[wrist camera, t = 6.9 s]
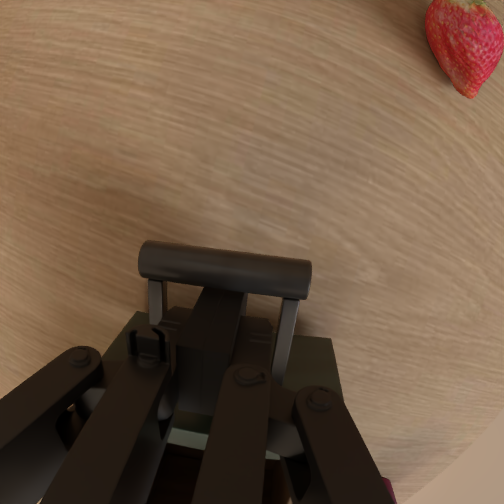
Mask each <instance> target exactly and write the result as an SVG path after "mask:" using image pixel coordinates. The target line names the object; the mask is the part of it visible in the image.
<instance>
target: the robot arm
mask: <svg viewBox="0 0 504 504" xmlns="http://www.w3.org/2000/svg"><path fill="white" fill-rule="evenodd" d="M247 297H248V293H244V292H237V291H230V290H222V289H215V288H208V287H204V288H203V290H202V292H201V294H200V296H199V298H198V300H197V302H196V304H195V306H194V308H193V309H189V308H182V307H176V306H174V307H173V308H171V309H170V310H168V311H166V312H165V314H164V315H163V317H162V318H161V321H160V322H159V323H158V325H152V324H142V325H137V326H134V327H132V328H130V329H129V330H127V331H126V332H125V335H126V343H127V351H128V356H127V358H126V359H125V360H102V359H101V356H100V353H99V352H98V351H97V350H96V349H94V348H91V347H88V346H77V347H72V348H70V349H68V350H66V351H65V352H63V353H62V354H61V355H59V356H58V357H57V358H55V359H54V360H52V361H51V362H50V363H48V364H47V365H46V366H44V367H43V368H42V369H40V370H39V371H38V372H36V373H35V374H33V375H32V376H31V377H29V378H28V379H27V380H25V381H24V382H23V383H21V384H20V385H19V386H17V387H16V388H15V389H13V390H12V391H11V392H9V393H8V394H7V395H5V396H4V397H3V398H1V399H0V504H36V503H37V502H38V501H39V500H40V499H41V498H42V497H43V496H44V497H43V498H42V500H41V502H40V504H146V501H147V499H148V496H149V493H150V490H151V487H152V484H153V481H154V478H155V475H156V472H157V470H158V467H159V464H160V461H161V458H162V455H163V452H164V450H165V447H166V444H167V441H168V438H169V435H170V433H171V430H172V427H173V424H174V419H175V413H174V409H175V406H176V404H177V401H178V409H179V410H183V411H188V412H193V413H199V414H204V415H210V416H213V419H212V423H211V427H210V431H209V435H208V439H207V443H206V447H205V451H204V455H203V459H202V463H201V467H200V471H199V475H198V479H197V483H196V487H195V491H194V495H193V499H192V502H191V504H262V493H263V482H264V470H265V458H266V450H267V451H270V452H272V453H275V454H278V455H280V461H281V465H282V468H283V472H284V476H285V479H286V483H287V486H288V490H289V494H290V497H291V501H292V504H395V503H394V501H393V499H392V497H391V495H390V493H389V491H388V489H387V487H386V485H385V483H384V481H383V479H382V477H381V475H380V473H379V471H378V469H377V467H376V465H375V463H374V461H373V459H372V457H371V455H370V453H369V451H368V449H367V447H366V445H365V443H364V441H363V439H362V437H361V435H360V433H359V431H358V429H357V427H356V425H355V423H354V421H353V419H352V417H351V415H350V413H349V411H348V409H347V408H346V406H345V404H344V402H343V400H342V398H341V397H340V396H339V394H338V393H337V392H335V391H334V390H332V389H331V388H328V387H325V386H321V385H311V386H306V387H304V388H302V389H301V390H299V391H298V392H295V391H292V390H289V389H287V388H285V387H282V386H281V385H279V384H278V383H277V382H276V381H275V380H274V379H273V378H272V376H271V372H270V366H271V349H272V332H273V326H272V325H271V323H270V322H269V320H268V319H266V318H258V317H250V316H245V315H246V306H247ZM72 404H73V406H72V407H70V406H71V405H72ZM68 407H70V408H68ZM67 408H68V409H67Z"/></svg>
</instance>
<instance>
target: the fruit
mask: <svg viewBox="0 0 504 504" xmlns="http://www.w3.org/2000/svg"><path fill="white" fill-rule="evenodd" d="M482 1H483V0H433V1H432V3H431V5H430V6H429V8H428V10H427V12H426V14H425V15H426V19H425V30H426V35H427V40H428V42H429V45H430V48H431V50H432V52H433V53H434V55H435V57H436V59H437V60H438V62H439V65H440V67H441V69H442V70H443V71H444V72H445V73H446V75H447V76H448V77H449V78H450V79H451V82H452V83H453V86H454V87H455V89H456V90H457V91H458V92H459V93H460V94H462V95H463V96H466V97H467V98H470V99H471V98H474V97H475V96H476V95H477V94H478V90H479V88H480V87H481V85H482V84H483V83H484V82H485V80H486V79H488V77H489V76H490V75H491V73H492V72H493V71H494V69H495V67H496V66H497V63H498V62H499V60H500V58H501V55H502V52H503V47H504V41H503V40H504V37H503V32H502V27H501V25H500V23H499V22H498V20H497V18H496V16H495V15H494V14H493V12H492V10H491V9H489V8H488V7H489V6H487V5H486V3H485V2H482Z"/></svg>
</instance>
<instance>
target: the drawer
mask: <svg viewBox="0 0 504 504" xmlns="http://www.w3.org/2000/svg"><path fill="white" fill-rule="evenodd" d="M138 269H139V273H140V275H141V276H142V277H143V278H149V279H148V302H149V313H145V312H140V311H136V313H135V314H134V315H133V317H132V318H131V319H130V320H129V322H128V323H127V324H126V326H125V327H124V328H123V330H122V331H121V332H120V334H119V335H118V336H117V338H116V339H115V340H114V341H113V343H112V344H111V345H110V347H109V348H108V350H107V351H106V352H105V354H104V355H103V356H102V358H101V359H102V360H125V359H126V358H127V356H128V351H127V343H126V335H125V332H126V331H127V330H129V329H130V328H132V327H134V326H137V325H142V324H152V325H158V323H159V322H160V321H161V318H162V317H163V315H164V314H165V312H166V311H167V281H168V282H174V283H181V284H188V285H194V286H201V287H208V288H215V289H222V290H230V291H237V292H244V293H252V294H260V295H268V296H276V297H282V303H281V309H280V315H279V321H278V327H277V333H274V332H272V349H271V366H270V372H271V376H272V378H273V379H274V380H275V381H276V382H277V383H278V384H279V385H281V386H282V387H285V388H287V389H289V390H292V391H295V392H298V391H299V390H301V389H302V388H304V387H306V386H311V385H321V386H325V387H328V388H331V389H332V390H334V391H335V392H337V393H338V394H339V396H340V397H341V398H342V400H343V402H344V399H343V394H342V389H341V384H340V379H339V374H338V369H337V364H336V359H335V354H334V349H333V345H332V340H331V338H321V337H311V336H301V335H293V334H294V329H295V324H296V319H297V314H298V308H299V303H300V299H301V300H306V299H307V297H308V294H309V290H310V285H311V277H312V264H311V261H309V260H302V259H294V258H286V257H278V256H270V255H262V254H254V253H247V252H239V251H231V250H223V249H215V248H207V247H199V246H191V245H183V244H175V243H168V242H160V241H152V240H147V241H145V242H144V243H143V245H142V247H141V249H140V253H139V259H138ZM174 413H175V419H174V424H173V427H172V430H171V433H170V435H169V438H168V441H167V444H166V447H165V450H164V452H163V455H162V458H161V461H160V464H159V467H158V470H157V472H156V475H155V478H154V481H153V484H152V487H151V490H150V493H149V496H148V499H147V501H146V504H191V502H192V499H193V495H194V491H195V487H196V483H197V479H198V475H199V471H200V467H201V463H202V459H203V455H204V451H205V447H206V443H207V439H208V435H209V431H210V427H211V423H212V419H213V416H210V415H204V414H199V413H193V412H188V411H183V410H179V409H178V401H177V404H176V406H175V409H174ZM262 504H292V501H291V497H290V494H289V490H288V486H287V483H286V479H285V476H284V472H283V468H282V465H281V461H280V455H278V454H275V453H272V452H270V451H267V450H266V458H265V470H264V482H263V493H262Z"/></svg>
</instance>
